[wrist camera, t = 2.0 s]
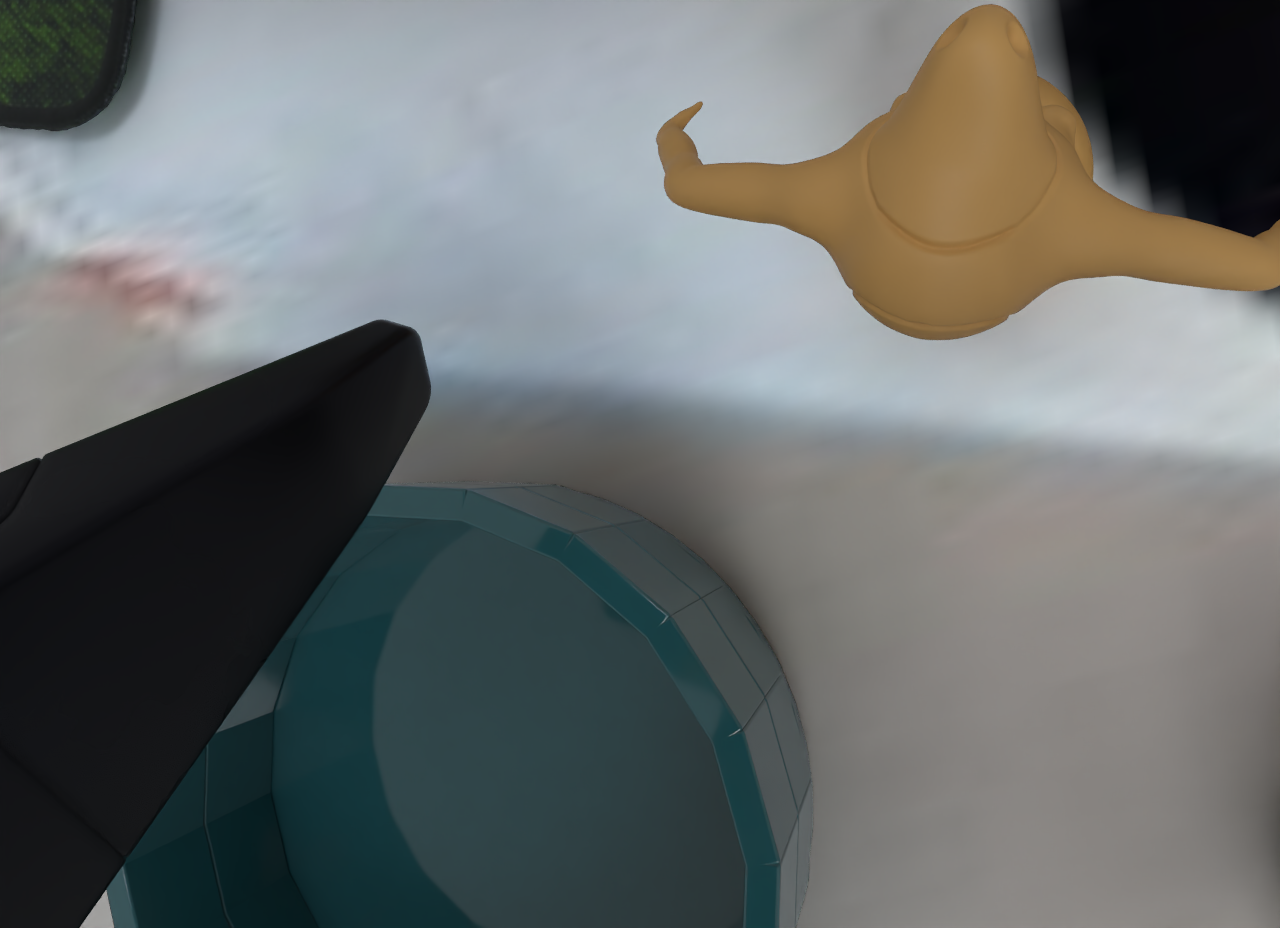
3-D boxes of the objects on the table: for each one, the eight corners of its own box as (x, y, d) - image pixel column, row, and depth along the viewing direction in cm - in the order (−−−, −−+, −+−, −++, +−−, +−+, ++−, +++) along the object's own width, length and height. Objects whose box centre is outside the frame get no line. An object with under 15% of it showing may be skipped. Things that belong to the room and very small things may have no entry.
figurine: (1218, 137, 18) (1766, -476, 6) (1142, 448, 18) (1526, 415, 7) (788, 92, 20) (604, -413, 9) (728, 368, 20) (474, 238, 9)
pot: (947, 914, 19) (955, 1063, 14) (443, 1173, 22) (312, 1365, 17) (590, 364, 21) (493, 334, 17) (181, 672, 25) (1, 721, 20)
